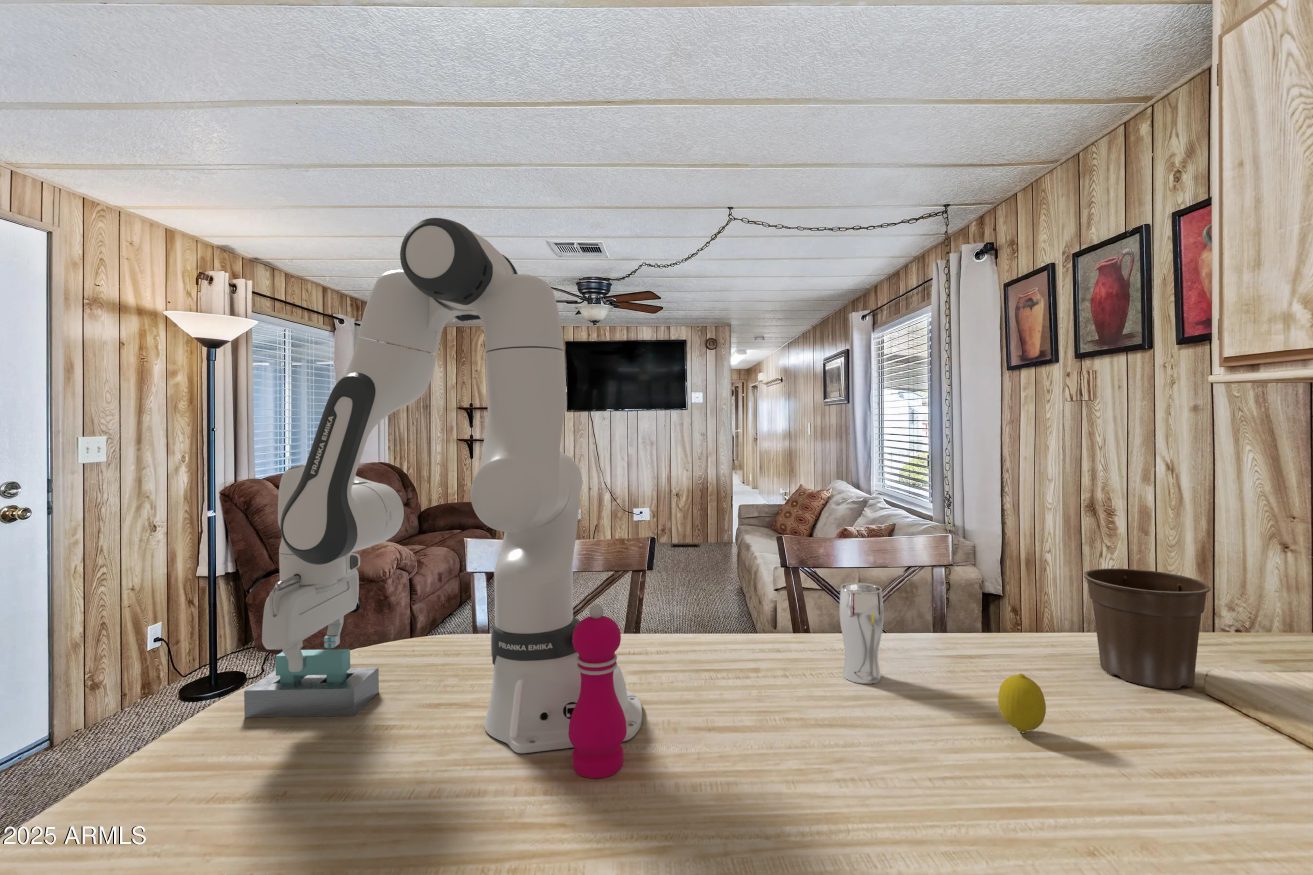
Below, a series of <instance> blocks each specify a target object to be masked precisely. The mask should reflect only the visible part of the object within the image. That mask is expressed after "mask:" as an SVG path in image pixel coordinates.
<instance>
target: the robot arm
mask: <svg viewBox="0 0 1313 875" xmlns="http://www.w3.org/2000/svg"><path fill="white" fill-rule="evenodd" d="M399 259H400V264H401V268H402V269H395V270H389V271H386V272H384V273H383V274H381V275H380V276H379V277H378V278H377V280H376V281H375V283H374V286H373V288H372V290H371V292H370V295H369V297H368V300H367V303H366V305H365V308H364V312H363V315H362V317H361V321H360V327H359V331H358V335H357V336H358V337H357V339H356V344H355V347H354V350H353V353H352V357H351V359H350V361H349V364H348V366H347V368H346V370H345V372H344V374H343V375H342V377H341V378H340V379H339V380H338V382H336V384H335V385H334V387H333V389H332V390H331V392H330V394H329V397H328V399H327V400H326V401H327V402H326V403H325V407H324V408H323V412H322V414H321V417H320V420H319V424H318V427H317V430H316V433H315V435H314V438H313V442H312V444H311V448H310V451H309V454H308V456H307V460H306V463H303V464H298V465H294V466H291V467H289V468H288V469H286V470H285V471H284V472H283V473H282V476H281V479H280V482H279V486H278V487H279V488H278V495H277V496H278V498H277V524H278V527H279V529H280V534H281V540H280V544H279V549H278V556H279V557H278V560H279V564H278V565H279V580H278V581H277V582H275V584H274V587H273V589H272V590H271V592H270V593H269V595H268V597H267V598H266V600H265V603H264V607H263V616H262V631H261V642H262V645H263V647H264V648H265V649H266V650H282V651H281V652H283V653H284V654H285V656H286V658H287V659H288V663H289V671H291V672H299V671H301V670H302V669H304V668H305V667H306V666H307V663H306V660H307V658H306V656H303V655H302V652H301V650H302V648H303V641H304V640H305V639H308V638H309V637H311V636H312V635H313V634H316V633H317V632H320V631H321V630H322V629H324V628H326V627H327V631H326V635H325V636H324V637H323V642H324V644H323V645H324V646H323V647H324V648H325V649H334V648H336V647H337V646H339V645H340V644H341V632H342V628H343V626H344V622H345V615H348V614H349V613H351V612H353V611H354V610H356V607H357V604H358V602H359V597H360V596H359V593H360V591H359V590H360V582H359V581H360V580H359V578H360V576H359V571H358V569H357V568H359V567H360V566H361V556H360V554H358V553H355V552H359V551H360V550H364V549H368V548H371V547H373V546H377V545H380V544H383V543H384V542H387V541H388V540H390V539H392V538H393V537H395V536H396V535H397V534H398V533H399V532H400V530H401V528H402V527H403V524H404V521H405V513H406V512H405V505H404V501H403V499H402V497H401V495H400V494H399V493H398V491H397V490H396V489H395V488H394V487H392V486H391V485H388V484H386V483H382V482H381V483H379V482H375V481H372V480H368V479H366V478H362V477H360V476H357V475H356V474H357V473H358V472H357V471H358V469H359V465H360V462H361V459H362V456H363V453H364V450H365V446H366V443H367V441H368V439H369V438H368V437H369V436H370V434H371V433H372V431H373V429H374V428H375V427H376V426H377V425H378V424H379V423H380V422H382V421H383V420H384V419H386V417H388V416H390V415H391V414H393V413H395V412H396V411H398V410H400V409H402V408H404V407H407V406H410V405H411V404H413V403H414V402H416V401H417V400H419V398H421V397H422V396H423V395H424V394H425V393H426V391H427V389H428V387H429V386H430V383H431V380H432V377H433V375H434V372H435V367H436V362H437V357H438V355H437V354H438V352H439V347H440V342H441V336H442V334H443V333H442V332H443V330H444V328H445V325H446V324H447V323H448V322H449V321H450V320H451V319H453V318H455V319H456V320H458V321H460V322H468V321H475V320H477V321H478V320H481V323H482V327H483V330H484V331H483V332H484V346H485V347H484V348H485V351H484V352H485V367H486V368H485V369H486V370H485V371H486V390H487V391H486V392H487V414H486V425H485V432H484V438H483V439H484V440H483V446H482V451H481V452H482V453H481V459H480V464H479V467H478V470H477V472H476V474H475V476H474V477H473V480H472V483H471V485H470V486H471V487H470V501H471V502H470V503H471V506H472V508H473V510H474V513H475V514H476V516H477V518H478V519H479V520H480V521H481V522H482V523H483V524H484V525H486V526H487V527H489V528H491V529H493V530H496V531H497V532H504V533H503V539H502V544H501V549H500V553H499V557H498V559H497V561H496V564H495V567H494V575H493V576H494V623H493V624H492V625H491V634H490V647H491V648H490V652H491V653H490V656H491V661H492V665H493V677H492V684H491V691H490V692H491V693H490V699H489V704H488V707H487V712H486V716H485V718H484V721H483V722H484V723H483V725H484V726H483V727H484V729H485V731H486V733H487V734H488V735H490V736H491V737H492V738H494V739H497V740H498V741H501V742H503V743H505V744H507V745H508V747H510V749H511V750H512V751H513V752H515V753H517V754H527V753H528V754H529V753H536V752H537V753H538V752H546V751H553V750H561V749H562V750H563V749H569V748H570V749H571V748H575V747H574V746H573V745H572V743H571V742H570V739H569V735H568V732H569V722H570V719H571V715H572V713H573V710H574V708H575V706H576V704H577V701H578V699H579V695H580V690H581V674H580V671H578V670H577V664H578V662H577V657H578V655H579V654H578V653H577V652H576V650H575V649H574V646H573V642H572V637H573V632H574V629H575V627H576V625H577V624H578V623H579V622H580V621H581V620H580V619H578V618H577V617H575V616H574V595H573V594H574V593H573V591H574V590H573V588H574V587H573V586H574V582H573V581H574V578H573V577H574V576H573V575H574V569H573V568H574V554H575V547H576V540H577V532H578V524H579V511H580V498H581V491H582V488H583V487H582V486H583V477H582V472H581V469H580V468H579V466H578V464H577V463H576V462H575V461H574V460H573V459H572V457H571V456H568V455H567V453H564V452H563V451H561V444H562V443H561V442H562V435H563V434H562V433H563V425H564V417H565V413H566V411H567V407H568V406H567V405H568V403H567V401H568V400H567V399H568V398H567V383H566V365H565V364H566V363H565V348H564V347H565V346H564V337H563V328H562V324H561V318H560V313H559V307H558V304H557V300H556V296H555V294H554V290H553V288H552V287H551V285H550V284H549V283H547V281H545V280H544V279H542V278H540V277H537V276H536V275H531V274H525V273H519V272H518V270H517V269H516V267H515V266H514V264H513V263H512V261H511V260H510V259H509V258H508V257H507V256H505V255H504V254H502V253H501V252H500V251H499V250H498V249H497V248H496V247H494V245H493V244H492V243H491V242H489V240H488V239H485V238H484V237H483V236H482V235H479V234H478V233H476V232H474V231H472V230H470V229H469V228H468V227H467V226H465V225H464V224H462V223H460V222H457V221H455V220H451V219H448V218H441V217H429V218H425V219H423V220H420V221H419V222H416V223H415V224H413V226H412V227H411V228H410V229H408V230H407V232H406V234H405V236H404V237H403V240H402V242H401V245H400V251H399ZM613 682H614V689H615V693H616V696H617V698H618V701H619V703H620V705H621V707H622V710H623V712H624V716H625V719H626V727H627V733H626V737H625V738H624V740H623V742H626V741H629V740H631V739H633V737H635V735H636V734H637V733H638V732H639V730H640V728H641V726H642V722H643V708H642V702H641V699H640V698H639V697H638V695H636V693H634V692H633V691H631V690H627V685H626V682H625V678H624V674H623V672H622V670H621V668H620V666H619V665H618V664H617V668H616V669H615V670H614V674H613Z"/></svg>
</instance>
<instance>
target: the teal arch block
mask: <svg viewBox="0 0 1313 875" xmlns="http://www.w3.org/2000/svg"><path fill="white" fill-rule="evenodd" d="M301 652H302V655H303V656H306V658H307V660H306V663H307V666H306V667H305V668H304V669H302V670H301V671H299V672H291V671H289V663H288V659H287V658H286V656H285V654H284V653H283V651H281V652H280V653H278V654H276V655H275V670H276V676H280V684H286V683H297V682H299V681H300V680H301V675H327V683H343V682H344V681H345V680H347V673H346V671H348V670H349V669H350V668H351V649H350V648H348V649H347V648H343V649H339V648H338V649H337V648H336V649H334V648H328V649H301Z"/></svg>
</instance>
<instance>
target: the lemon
mask: <svg viewBox="0 0 1313 875" xmlns="http://www.w3.org/2000/svg"><path fill="white" fill-rule="evenodd" d="M997 703H998V708H999V711H1000V714H1001V716H1002V717H1003V719H1004V720H1005V721H1006V723H1008V725H1010V726H1012V727H1013V728H1015V729H1016V730H1017V731H1018V732H1019V731H1020V732H1025V733H1027V732H1028V731H1033V730H1035V729H1038V728H1039V727H1040V726H1042V724H1043V722H1044V721H1045V720H1044V719H1045V718H1046V714H1047V713H1046V711H1047V707H1046V706H1047V705H1046V699H1045V696H1044V693H1043V691H1042V689H1041V687H1040V686H1039V685H1038V683H1036V682H1035V681H1034V680H1033V679H1031V678H1029V677H1027V676H1026V675H1025V674H1024V673H1018V674H1015V675H1010V676H1009V677H1007V678H1005V679H1004V680H1003V681H1002V682H1001V684H1000V686H999V690H998V696H997ZM1020 732H1019V733H1020Z"/></svg>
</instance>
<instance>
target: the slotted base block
mask: <svg viewBox="0 0 1313 875" xmlns="http://www.w3.org/2000/svg"><path fill="white" fill-rule="evenodd" d="M346 673H347V680H345V681H344V682H343V683H327V675H301V680H300V681H299V682H297V683H286V684H280V676H277V677H275V676H276V669H275V670H274V671H272V672H270V673H269V674H268V675H266V676H265V677H263V678H261V679H260V680H258V681H256V682H255V683H253V684H251V686H249V687H247V688H246V689H244V690H245V691H243V695H244V696H243V702H244V703H243V704H244V706H243V707H244V714H243V715H244V719H246V718H247V719H248V718H300V717H304V718H305V717H306V718H307V717H311V718H312V717H355V716H356V715H357V714H358V713H359V712H360V711H361V710H362V709H363V708H364V707H365V706H366V705H367V704H369V702H370V701H371V700H372V699H374V697H375V696H376V695H378V694H379V692H380V689H379V688H380V685H379V684H380V681H379V666H377V667H376V666H373V667H371V666H370V667H365V666H364V667H350V669H349V670H348V671H346ZM256 684H257V685H256Z"/></svg>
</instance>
